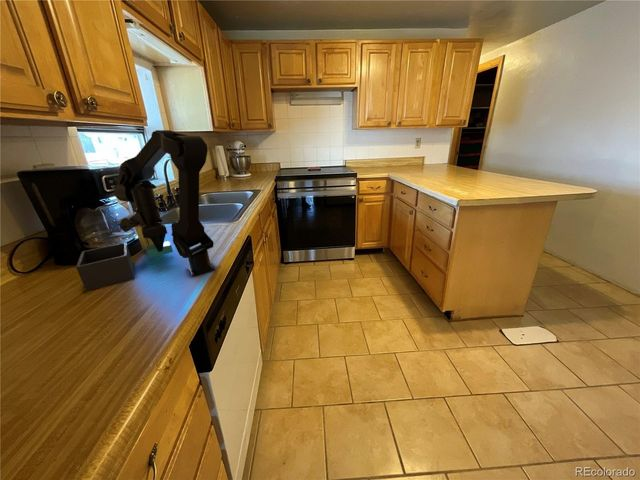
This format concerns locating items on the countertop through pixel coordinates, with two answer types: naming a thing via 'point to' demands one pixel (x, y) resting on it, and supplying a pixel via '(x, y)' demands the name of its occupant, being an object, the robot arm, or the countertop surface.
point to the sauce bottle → (138, 228)
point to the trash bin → (105, 266)
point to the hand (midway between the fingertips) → (159, 249)
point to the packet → (154, 252)
